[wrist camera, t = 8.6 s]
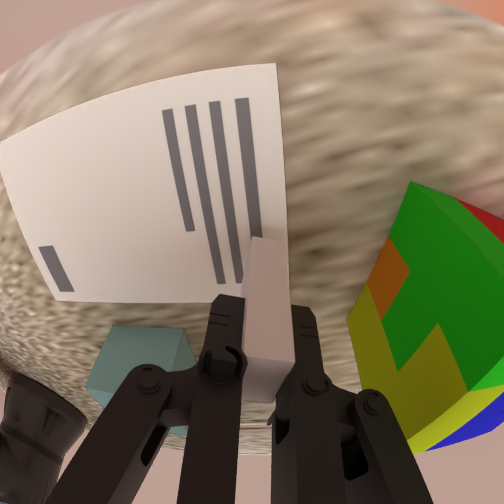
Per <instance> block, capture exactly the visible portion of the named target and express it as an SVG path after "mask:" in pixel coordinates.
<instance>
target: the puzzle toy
mask: <svg viewBox="0 0 504 504" xmlns="http://www.w3.org/2000/svg"><path fill="white" fill-rule="evenodd" d="M347 324H348V328H349V332H350V336H351V340H352V345H353V349H354V353H355V358H356V362H357V367H358V372H359V376H360V381H361V386H362V390H364V389H374V390H378V391H379V392H381V393H382V394H383V395H384V396H385V397H386V399H387V400H388V402H389V404H390V406H391V408H392V410H393V412H394V414H395V416H396V418H397V421H398V423H399V425H400V427H401V429H402V431H403V433H404V436H405V438H406V440H407V442H408V444H409V447H410V449H411V451H412V453H413V454H415V453H420V452H424V451H429V450H433V449H437V448H441V447H444V446H448V445H451V444H455V443H458V442H461V441H464V440H468V439H471V438H473V437H476V436H479V435H482V434H485V433H487V432H490V431H492V430H493V429H495V428H496V427H497V426H499V425H500V424H501V423H502V422H504V220H502V219H500V218H498V217H496V216H494V215H492V214H490V213H488V212H486V211H483V210H481V209H479V208H477V207H474V206H472V205H470V204H468V203H465V202H463V201H461V200H458V199H456V198H453V197H451V196H448V195H446V194H443V193H441V192H438V191H436V190H433V189H430V188H428V187H425V186H422V185H420V184H417V183H414V182H411V181H410V184H409V186H408V189H407V192H406V194H405V197H404V199H403V202H402V204H401V207H400V209H399V212H398V214H397V217H396V219H395V221H394V224H393V226H392V228H391V231H390V233H389V235H388V238H387V240H386V242H385V244H384V247H383V249H382V251H381V253H380V255H379V257H378V259H377V262H376V264H375V266H374V268H373V270H372V272H371V274H370V276H369V278H368V280H367V282H366V284H365V286H364V288H363V290H362V292H361V294H360V296H359V298H358V299H357V301H356V303H355V305H354V307H353V309H352V311H351V312H350V314H349V316H348V318H347Z"/></svg>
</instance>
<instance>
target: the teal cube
mask: <svg viewBox="0 0 504 504" xmlns="http://www.w3.org/2000/svg"><path fill="white" fill-rule="evenodd" d="M141 364H154V365H158V366H160V367H161V368H163V369H164V370H166V372H171V371H181V370H187V369H189V368H191V367H193V366H194V365H195V364H197V362H196V359H195V357H194V354H193V352H192V349H191V347H190V344H189V342H188V339H187V337H186V334H185V332H184V329H183V328H153V327H129V326H112V328H111V330H110V332H109V334H108V336H107V338H106V340H105V342H104V344H103V346H102V349H101V351H100V353H99V355H98V357H97V360H96V362H95V364H94V366H93V369H92V371H91V373H90V375H89V378H88V380H87V383H86V385H85V389H86V390H87V391H88V392H89V393H90V394H91V395H92V396H93V397H94V398H95V399H96V400H97V401H98V402H99V403H100V404H101V405H102V406H103V407H104V408H105V407H106V406H107V404H108V403H109V401H110V400H111V398H112V397H113V395H114V394H115V392H116V391H117V389H118V388H119V386H120V385H121V383H122V382H123V380H124V379H125V377H126V376H127V374H128V373H129V372H130V371H131V370H132V369H133V368H134V367H136V366H139V365H141ZM187 431H188V425H187V426H177V427H171V428H170V430H169V432H168V434H176V435H184V436H187Z"/></svg>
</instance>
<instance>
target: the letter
mask: <svg viewBox="0 0 504 504" xmlns="http://www.w3.org/2000/svg"><path fill="white" fill-rule="evenodd" d="M0 171H1V175H2V178H3V181H4V184H5V187H6V191H7V194H8V196H9V199H10V202H11V205H12V208H13V210H14V213H15V216H16V218H17V221H18V223H19V226H20V228H21V231H22V233H23V235H24V238H25V240H26V242H27V245H28V247H29V249H30V251H31V253H32V255H33V258H34V260H35V262H36V264H37V266H38V268H39V270H40V272H41V274H42V276H43V278H44V279H45V281H46V283H47V285H48V287H49V289H50V291H51V292H52V294H53V296H54V298H55V299H56V301H78V302H109V303H212V302H213V301H214V299H215V298H216V297H217V296H218V295H219V294H225V295H231V296H236V297H240V296H241V286H242V279H243V275H244V270H245V266H246V262H247V257H248V253H249V248H250V244H251V240H252V236H254V237H259V238H265V239H270V240H275V241H280V242H284V243H285V253H286V262H287V272H288V283H289V260H288V233H287V210H286V191H285V173H284V157H283V143H282V129H281V116H280V104H279V92H278V81H277V71H276V63H268V64H255V65H244V66H235V67H227V68H219V69H212V70H206V71H200V72H194V73H189V74H184V75H179V76H174V77H169V78H165V79H161V80H156V81H152V82H148V83H145V84H141V85H137V86H133V87H130V88H127V89H123V90H120V91H117V92H113V93H110V94H107V95H104V96H101V97H98V98H95V99H93V100H90V101H87V102H84V103H82V104H79V105H77V106H74V107H72V108H69V109H67V110H64V111H62V112H59V113H57V114H55V115H52V116H50V117H48V118H46V119H44V120H41V121H39V122H37V123H35V124H33V125H31V126H29V127H27V128H25V129H23V130H21V131H19V132H17V133H15V134H14V135H12V136H10V137H8V138H6V139H5V140H3V141H1V142H0Z"/></svg>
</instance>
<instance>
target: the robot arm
mask: <svg viewBox="0 0 504 504" xmlns="http://www.w3.org/2000/svg"><path fill="white" fill-rule="evenodd" d="M318 337H319V336H318V330H317V324H316V318H315V316H314V314H313V313H312V311H311V310H310V308H309V307H304V306H297V305H291V304H290V293H289V283H288V272H287V262H286V253H285V243H284V242H280V241H275V240H270V239H265V238H259V237H254V236H252V240H251V244H250V248H249V253H248V257H247V262H246V266H245V270H244V275H243V279H242V286H241V296H240V297H236V296H231V295H225V294H219V295H218V296H217V297H216V298H215V299H214V301H213V302H212V306H211V311H210V316H209V321H208V326H207V331H206V336H205V341H204V346H203V350H202V352H201V354H200V356H199V361H198V363H197V364H195V365H194V366H193V367H191V368H189V369H187V370H181V371H171V372H166V370H164V369H163V368H161V367H160V366H158V365H154V364H141V365H139V366H136V367H134V368H133V369H132V370H131V371H130V372H129V373H128V374H127V376H126V377H125V379H124V380H123V382H122V383H121V385H120V386H119V388H118V389H117V391H116V392H115V394H114V395H113V397H112V398H111V400H110V401H109V403H108V404H107V406H106V407H105V409H104V410H103V412H102V413H101V415H100V416H99V418H98V419H97V421H96V422H95V424H94V425H93V427H92V428H91V430H90V431H89V433H88V435H87V437H86V438H85V439H84V441H83V442H82V444H81V445H80V447H79V449H78V450H77V452H76V454H75V455H74V457H73V458H72V460H71V461H70V463H69V464H68V466H67V468H66V469H65V471H64V472H63V474H62V476H61V477H60V479H59V481H58V482H57V480H58V476H59V473H60V469H61V465H62V462H63V459H64V456H65V454H66V453H67V452H68V450H69V449H70V448H71V447H72V446H73V444H74V443H75V442H76V441H77V440H78V438H79V437H80V436H81V435H82V434H83V432H84V429H85V426H86V424H87V421H86V419H85V417H84V416H83V415H82V414H81V413H80V412H79V411H78V410H77V409H75V408H74V407H73V406H72V405H70V404H69V403H68V402H66V401H65V400H63V399H62V398H61V397H59V396H58V395H56V394H55V393H53V392H52V391H50V390H48V389H47V388H45V387H44V386H42V385H40V384H38V383H37V382H35V381H33V380H31V379H29V378H27V377H25V376H22V375H19V374H12V376H11V378H10V380H9V382H8V384H7V391H6V397H5V406H4V416H3V419H2V422H1V424H0V504H131V503H132V501H133V500H134V498H135V496H136V494H137V492H138V490H139V488H140V486H141V484H142V482H143V480H144V479H145V477H146V474H147V473H148V471H149V469H150V467H151V465H152V463H153V461H154V459H155V457H156V455H157V454H158V452H159V450H160V448H161V446H162V444H163V442H164V440H165V438H166V436H167V434H168V432H169V430H170V428H171V427H177V426H187V425H188V431H187V437H186V444H185V450H184V457H183V463H182V469H181V476H180V483H179V490H178V497H177V504H235V489H236V475H237V459H238V444H239V429H240V414H241V400H246V401H254V402H264V403H273V401H274V399H275V397H276V409H275V410H274V412H273V413H272V415H271V416H270V418H269V420H268V423H267V426H270V425H271V423H272V464H271V468H272V469H271V504H433V501H432V498H431V496H430V493H429V491H428V489H427V486H426V484H425V481H424V479H423V477H422V474H421V472H420V469H419V467H418V465H417V463H416V460H415V458H414V456H413V453H412V451H411V449H410V447H409V444H408V442H407V440H406V438H405V436H404V433H403V431H402V429H401V427H400V425H399V423H398V421H397V418H396V416H395V414H394V412H393V410H392V408H391V406H390V404H389V402H388V400H387V399H386V397H385V396H384V395H383V394H382V393H381V392H379V391H378V390H374V389H364V390H362V391H360V392H359V393H358V394H355V393H352V392H349V391H346V390H343V389H341V388H339V387H336V386H335V385H334V384H332V382H331V380H330V378H329V377H328V376H327V375H326V374H325V373H324V369H323V362H322V356H321V349H320V342H319V339H318Z"/></svg>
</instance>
